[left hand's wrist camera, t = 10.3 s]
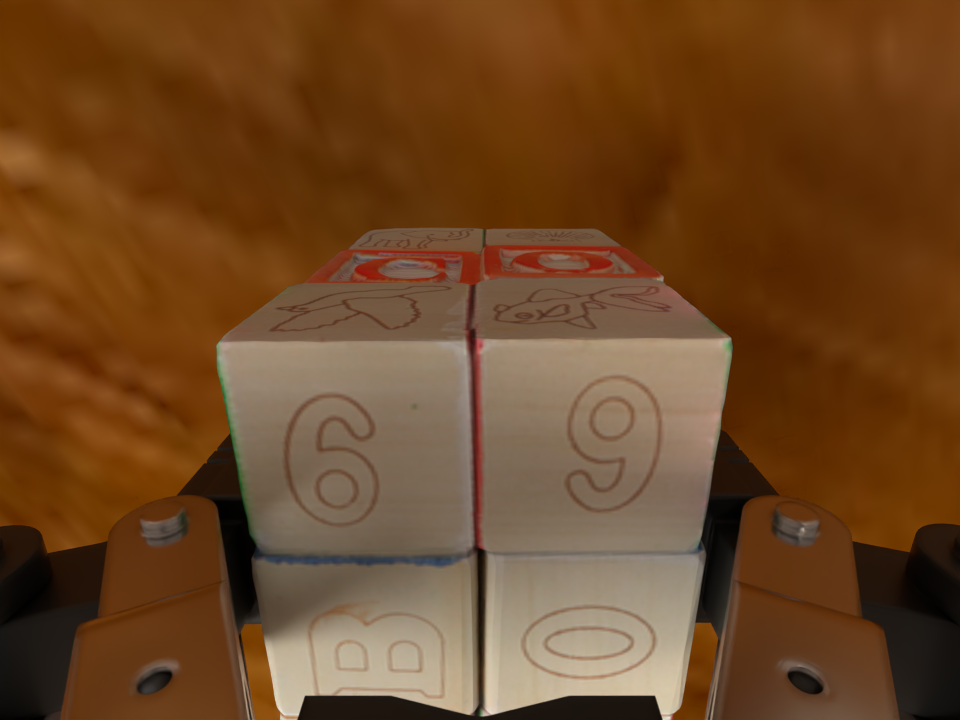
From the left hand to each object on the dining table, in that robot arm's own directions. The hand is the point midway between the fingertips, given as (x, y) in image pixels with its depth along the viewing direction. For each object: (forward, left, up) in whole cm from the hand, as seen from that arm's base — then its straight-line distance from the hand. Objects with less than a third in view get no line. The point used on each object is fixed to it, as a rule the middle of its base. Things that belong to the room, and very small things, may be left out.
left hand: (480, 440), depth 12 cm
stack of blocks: (+5, +5, -5) cm, 9 cm away
